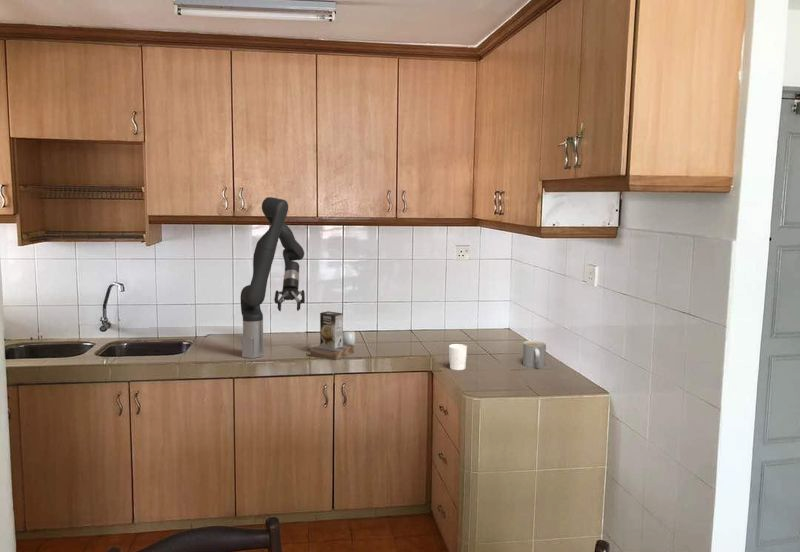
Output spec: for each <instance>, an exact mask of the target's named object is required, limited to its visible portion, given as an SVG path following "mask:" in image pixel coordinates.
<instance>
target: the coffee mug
mask: <svg viewBox="0 0 800 552" xmlns="http://www.w3.org/2000/svg"><path fill="white" fill-rule="evenodd" d="M522 346H523V347H522V365H523V366H524V367H527V368H532V369H539V368H541V369H542V368H544V367H545V366H546V351H547V343H545V342H544V341H539V340H527V341H523V345H522Z"/></svg>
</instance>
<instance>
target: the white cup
mask: <svg viewBox="0 0 800 552" xmlns="http://www.w3.org/2000/svg"><path fill="white" fill-rule="evenodd" d="M448 352H449V353H448V355H449V357H448V358H449V368H450V369H451V370H453V371H464V370H465V369H466V365H467V363H466V362H467V355H468V346H467V344H461V343H454V344H452V343H451V344H449V345H448Z"/></svg>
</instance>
